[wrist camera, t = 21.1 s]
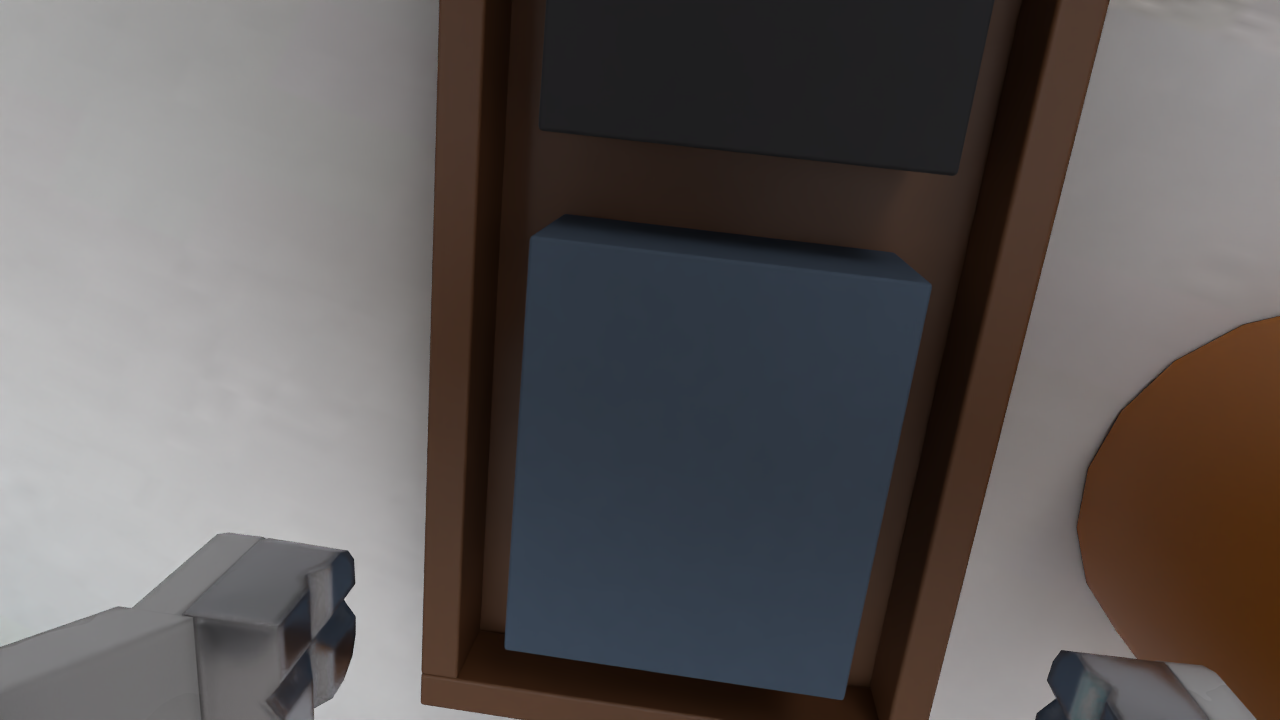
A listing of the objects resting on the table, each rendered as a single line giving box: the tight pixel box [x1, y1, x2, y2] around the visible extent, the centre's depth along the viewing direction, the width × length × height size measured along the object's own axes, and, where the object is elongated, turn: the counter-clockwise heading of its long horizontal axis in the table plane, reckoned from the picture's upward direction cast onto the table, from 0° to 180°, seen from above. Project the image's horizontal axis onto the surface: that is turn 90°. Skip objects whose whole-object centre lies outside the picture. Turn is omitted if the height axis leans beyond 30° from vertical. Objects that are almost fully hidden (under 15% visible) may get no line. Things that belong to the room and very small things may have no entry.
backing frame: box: [421, 0, 1110, 720], centre depth 15 cm, size 22×11×2 cm, turn 174°
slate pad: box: [504, 214, 932, 700], centre depth 16 cm, size 8×6×3 cm
